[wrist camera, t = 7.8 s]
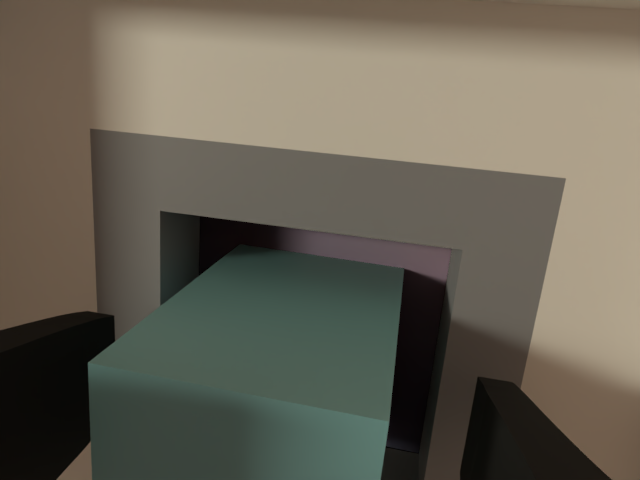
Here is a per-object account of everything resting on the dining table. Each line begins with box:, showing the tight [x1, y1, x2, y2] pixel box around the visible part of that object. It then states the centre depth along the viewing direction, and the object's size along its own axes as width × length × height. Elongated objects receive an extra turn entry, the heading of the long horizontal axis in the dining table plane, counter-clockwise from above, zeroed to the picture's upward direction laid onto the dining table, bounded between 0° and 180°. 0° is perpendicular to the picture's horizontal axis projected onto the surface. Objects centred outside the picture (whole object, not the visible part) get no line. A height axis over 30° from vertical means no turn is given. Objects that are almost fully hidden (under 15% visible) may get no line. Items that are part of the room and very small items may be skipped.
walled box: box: [0, 0, 640, 480], centre depth 10 cm, size 16×16×5 cm
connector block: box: [88, 244, 404, 480], centre depth 10 cm, size 4×4×6 cm
